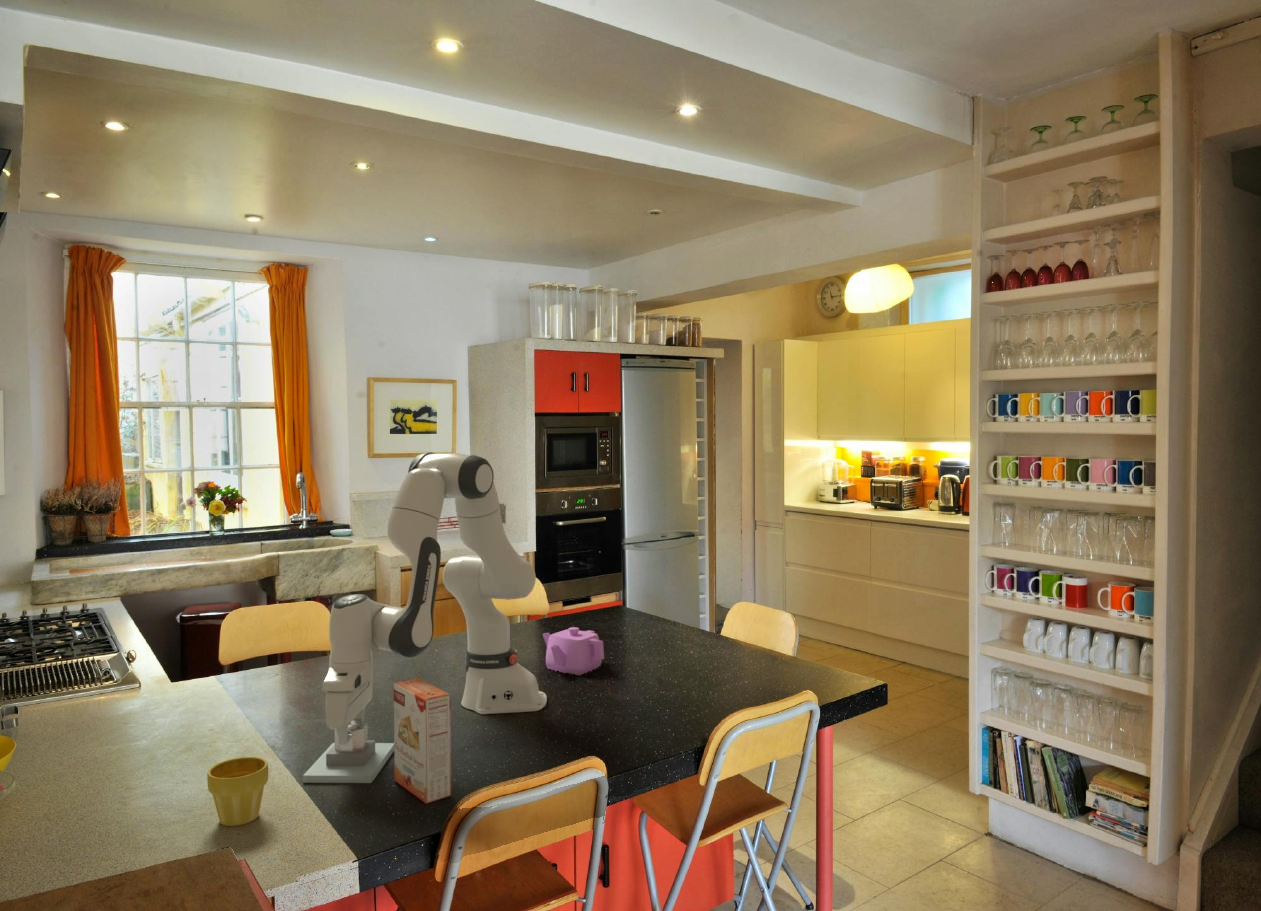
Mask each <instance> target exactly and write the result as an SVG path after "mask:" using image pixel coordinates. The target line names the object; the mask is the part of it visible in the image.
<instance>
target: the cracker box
mask: <svg viewBox="0 0 1261 911" xmlns="http://www.w3.org/2000/svg"><path fill="white" fill-rule="evenodd" d="M451 698H452V696H451V693H449V692H446V691H444V690H442V689H440V688H439V687H437V686H435V685H433V684H431V683H429V682H428V681H427V682H426V681H425V680H423V679H421V678H419V677H416V678H412V679H405V680H400V681H396V682H394V683H393V727H394V730H393V731H394V732H393V738H394V739H393V741H394V742H393V743H394V752H393V754H394V761H393V762H394V782H396V783H397V784H399V785H400V786H401V787H403V789H405V790H407V791H408V792H409V793H411V794H412V795H413V796H414V797H417V798H418V799H419V800H421V802H422V803H424V804H431V803H433V802H436V801H440V800H442V799H443V800H444V799H446V798H449V797H451V796H452V752H451V751H452V746H451V745H452V743H451V742H452V741H451V740H452V739H451V738H452V730H451V729H452V728H451V727H452V724H451V722H452V721H451V720H452V719H451V718H452V716H451V715H452V710H451V708H452V706H451V703H452V699H451Z"/></svg>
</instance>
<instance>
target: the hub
mask: <svg viewBox="0 0 1261 911" xmlns="http://www.w3.org/2000/svg"><path fill="white" fill-rule="evenodd" d="M349 725H356V729H348V734H349V742H348V743H347V744H346V745H340V744H339V736H338V734H337V731H336V729H334V743H335V749H336V750H337V751H339V752H356V751H359V750H363V749H364V748H365V747H366V746H367V740H368V723H365V722H364V721H363V722H362V721H353V720H352V721H351V722H350V723H349Z"/></svg>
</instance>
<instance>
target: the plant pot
mask: <svg viewBox="0 0 1261 911" xmlns="http://www.w3.org/2000/svg"><path fill="white" fill-rule="evenodd" d="M268 763H269V762H268V761H267V760H266V759H264V758H262V757H259V756H258V757H257V756H243V757H242V756H241V757H235V758H234V757H233V758H231V759H227V760H224V761H221V762H218V763H216V764H214V765H212V766H211V767H210V768H209V769H208V770H207V773H206V775H207V776H206V777H207V782H206V783H207V790H208V792H209V793H210V794H211V795H212V797H213V802H214V805H215V810H216V812H217V817H218V819H219V820H218V821H219V823H220V824H221V825H223V826H225V827H237V826H243V825H247V824H249V823H251V822H253V821H255V820H256V819H257V818H258V817H259V814H260V811H261V804H262V799H263V794H264V790H265V789H264V788H265V785H266V784H267V783H268V781H269V764H268Z"/></svg>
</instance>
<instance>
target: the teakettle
mask: <svg viewBox="0 0 1261 911" xmlns="http://www.w3.org/2000/svg"><path fill="white" fill-rule="evenodd" d="M595 632H596V631H594V630H589V629H588V630H580V628H579V627H575V626H572V627H569V628H568V629H567V628H566V629H565V630H561V631H558V632H554V633H552V634H550V633H551V632H545V633H542V636H543V640H544V643H545V646H546V650H545V651H546V652H545V665H546V668H548V669H547V670H549V669H551V670H550V671H553V670H554V671H553V672H557V671H559V672H558V673H561V672H562V673H563V674H566V673H569V674H568V675H573V674H575V675H574V676H582V674H584V673H586V674H588V673H587V672H588V671H591V672H593V671H592V670H593V669H596V668H598V667H599V666H600V667H601V665H602V660H604V659H605V652H604V650H605V649H604V640H601V639H600V637H599V634H598V633H595ZM598 669H599V668H598ZM596 670H597V669H596ZM570 673H571V674H570ZM584 675H585V674H584Z"/></svg>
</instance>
